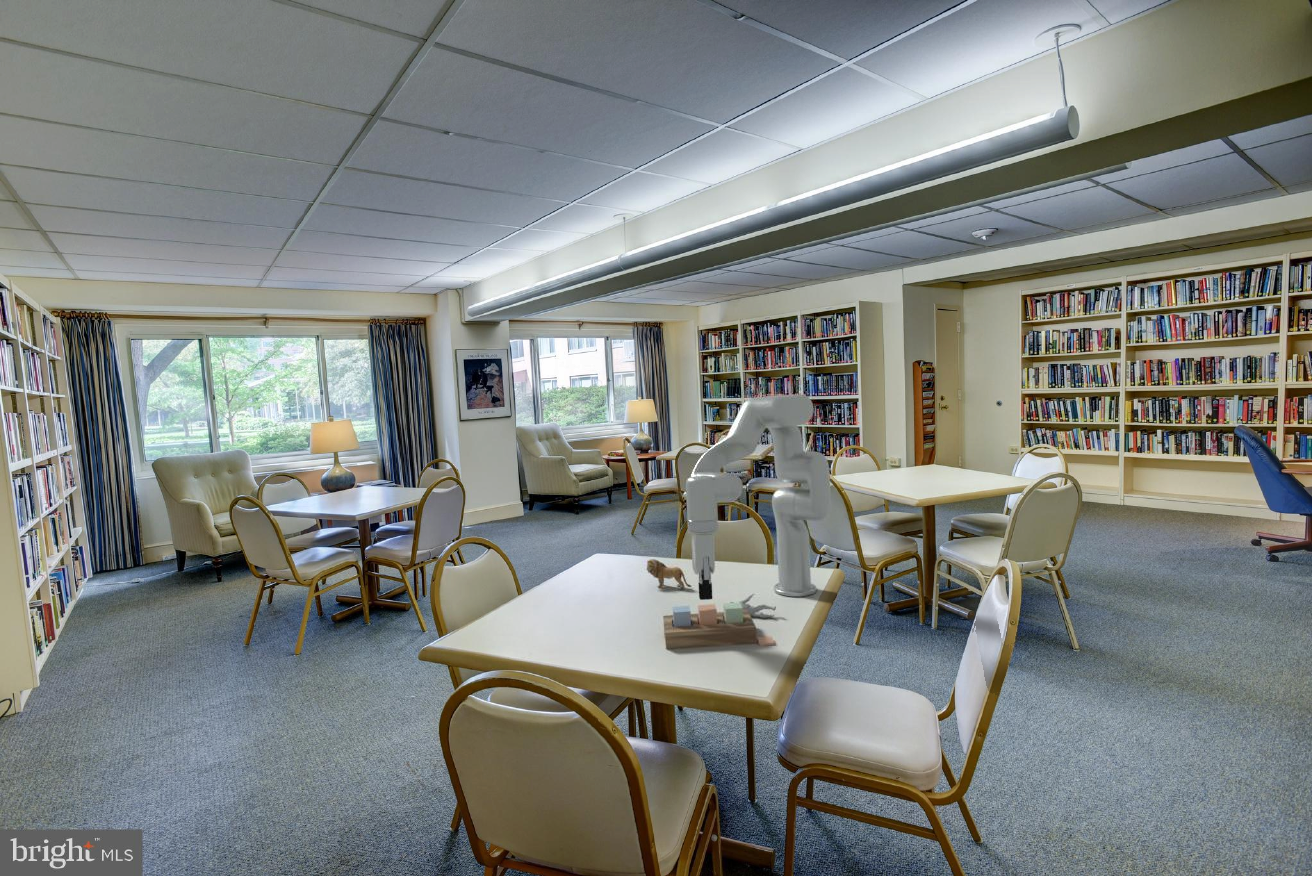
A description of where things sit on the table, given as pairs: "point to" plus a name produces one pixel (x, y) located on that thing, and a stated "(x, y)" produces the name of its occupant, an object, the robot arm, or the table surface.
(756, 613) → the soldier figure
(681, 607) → the light blue block
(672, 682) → the table surface
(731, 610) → the mint green block
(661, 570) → the lion figurine
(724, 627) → the board
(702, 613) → the salmon pink rectangular block
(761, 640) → the tile
